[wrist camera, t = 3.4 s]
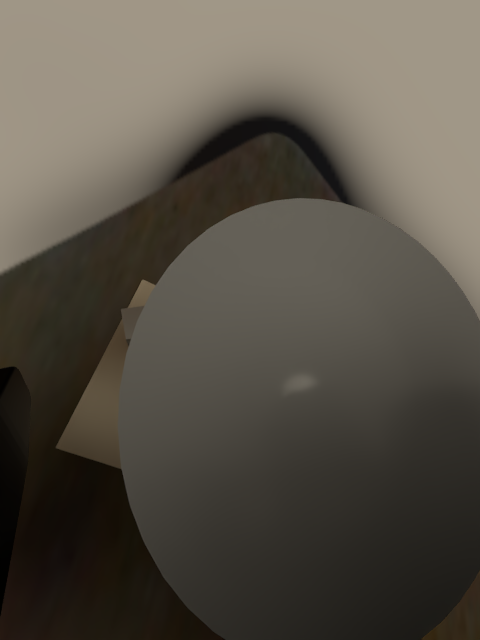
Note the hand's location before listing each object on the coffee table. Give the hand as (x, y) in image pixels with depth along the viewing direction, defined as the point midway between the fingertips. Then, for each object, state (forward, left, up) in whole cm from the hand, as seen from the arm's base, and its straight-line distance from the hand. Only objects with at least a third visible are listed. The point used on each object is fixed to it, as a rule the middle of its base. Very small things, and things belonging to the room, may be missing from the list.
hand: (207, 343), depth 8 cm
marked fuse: (-1, -1, -6) cm, 6 cm away
